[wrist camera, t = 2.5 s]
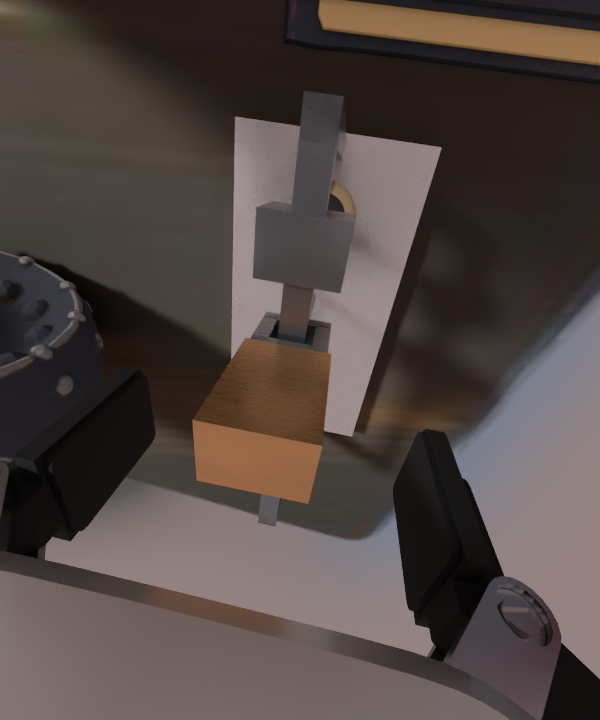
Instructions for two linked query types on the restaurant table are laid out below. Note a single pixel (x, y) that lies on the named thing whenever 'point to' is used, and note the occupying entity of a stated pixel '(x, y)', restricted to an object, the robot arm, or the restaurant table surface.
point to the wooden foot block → (267, 414)
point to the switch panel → (324, 240)
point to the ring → (41, 351)
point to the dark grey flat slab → (459, 32)
